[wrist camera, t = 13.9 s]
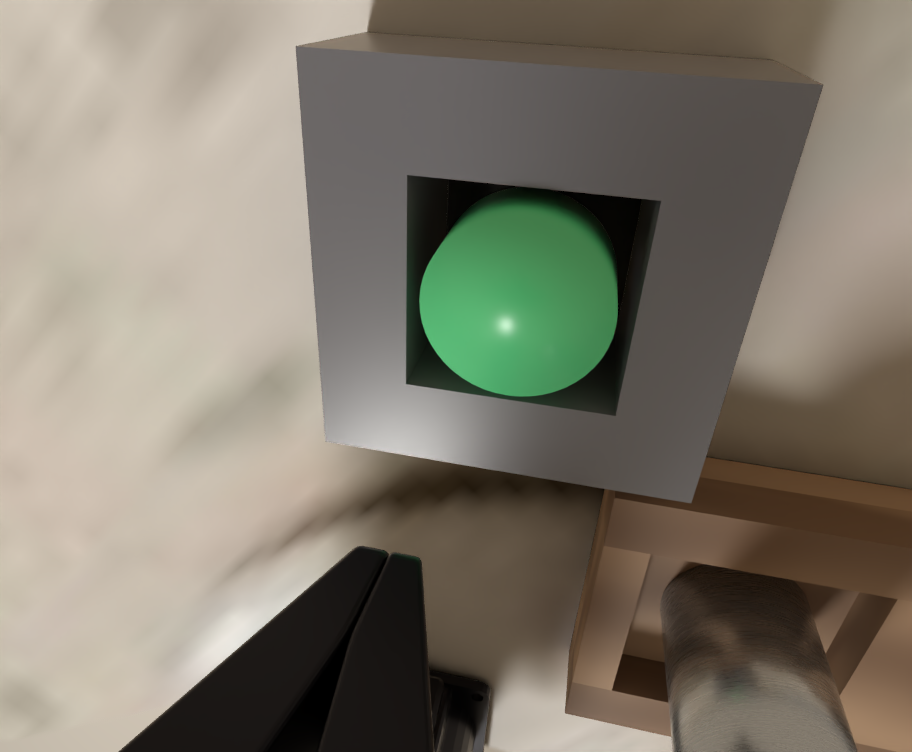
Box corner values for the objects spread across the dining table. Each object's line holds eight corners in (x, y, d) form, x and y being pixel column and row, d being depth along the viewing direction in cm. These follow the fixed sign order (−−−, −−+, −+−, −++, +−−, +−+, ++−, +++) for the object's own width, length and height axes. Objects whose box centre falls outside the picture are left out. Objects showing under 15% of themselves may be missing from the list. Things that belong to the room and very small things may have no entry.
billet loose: (781, 668, 21) (849, 925, 16) (646, 640, 22) (662, 878, 16) (831, 577, 19) (932, 838, 13) (678, 548, 20) (710, 786, 14)
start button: (601, 363, 16) (599, 409, 14) (438, 340, 16) (418, 381, 14) (632, 196, 13) (635, 227, 12) (444, 177, 14) (421, 203, 12)
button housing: (677, 409, 19) (691, 503, 15) (374, 364, 20) (325, 441, 17) (772, 59, 14) (823, 85, 10) (366, 32, 15) (295, 46, 12)
